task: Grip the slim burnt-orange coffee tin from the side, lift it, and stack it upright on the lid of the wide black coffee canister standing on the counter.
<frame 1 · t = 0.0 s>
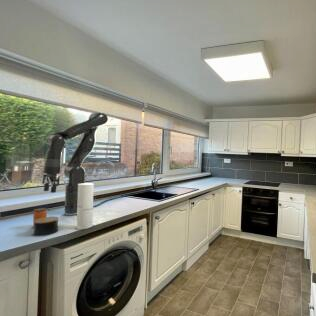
hand: (49, 191, 122), 17 cm above the worktop, tool pointing down, fingers open, 8 cm apart
cylindrical container: (84, 227, 113), on the worktop
black canister: (46, 232, 103), on the worktop
orange tin: (39, 226, 110), on the worktop
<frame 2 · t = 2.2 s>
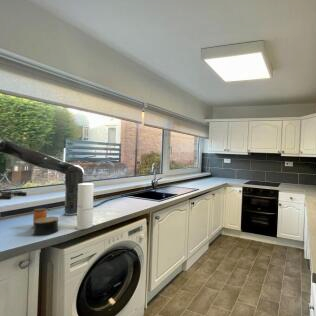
hand: (18, 195, 108), 17 cm above the worktop, tool horizontal, fingers open, 8 cm apart
nothing on the worktop moved.
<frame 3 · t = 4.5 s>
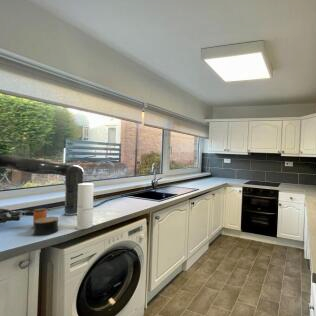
hand: (27, 216, 109), 6 cm above the worktop, tool horizontal, fingers open, 8 cm apart
nothing on the worktop moved.
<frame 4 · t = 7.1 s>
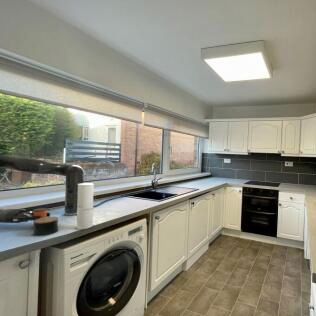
hand: (45, 216, 110), 6 cm above the worktop, tool horizontal, fingers closed on orange tin, 5 cm apart
orange tin: (39, 226, 110), on the worktop, touching gripper
everything else where it was.
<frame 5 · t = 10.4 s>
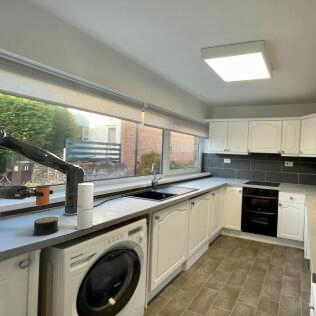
hand: (48, 193, 107), 20 cm above the worktop, tool horizontal, fingers closed on orange tin, 5 cm apart
orange tin: (42, 204, 107), point 14 cm above the worktop, touching gripper
everything else where it was.
when the fingers open (13 cm above the worktop, at t = 14.0 s): orange tin stays where it is, resting on black canister.
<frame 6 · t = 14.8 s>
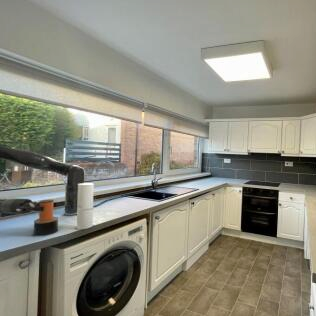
hand: (50, 206, 103), 14 cm above the worktop, tool horizontal, fingers open, 8 cm apart
black canister: (46, 232, 103), on the worktop, touching orange tin
orange tin: (46, 219, 103), point 7 cm above the worktop, touching black canister
everything else where it was.
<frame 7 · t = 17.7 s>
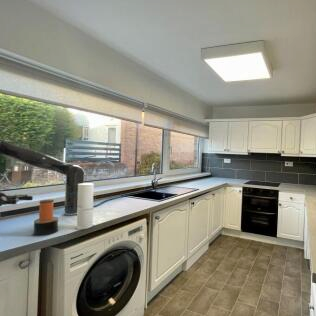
hand: (24, 200, 102), 17 cm above the worktop, tool horizontal, fingers open, 8 cm apart
nothing on the worktop moved.
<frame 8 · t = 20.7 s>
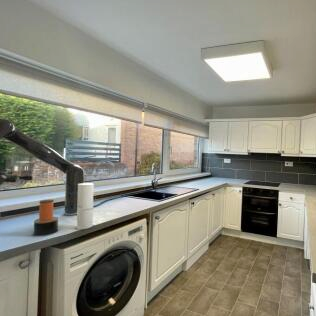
hand: (24, 179, 102), 28 cm above the worktop, tool horizontal, fingers open, 8 cm apart
nothing on the worktop moved.
at the end: orange tin 0.1 cm off-centre on the black canister, point 7.0 cm above the black canister's base; orange tin tilted 0°; black canister tilted 0° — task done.
